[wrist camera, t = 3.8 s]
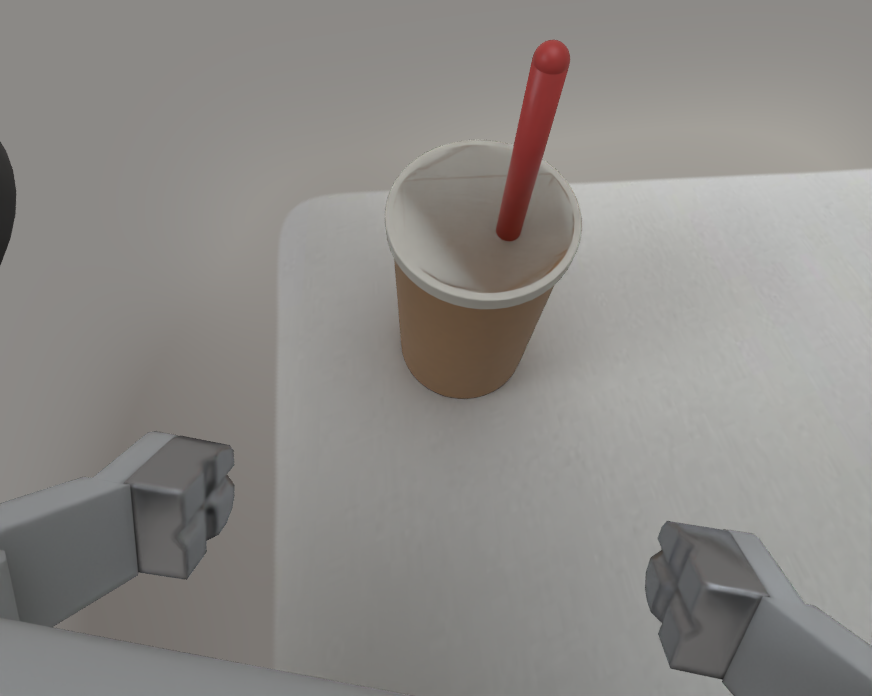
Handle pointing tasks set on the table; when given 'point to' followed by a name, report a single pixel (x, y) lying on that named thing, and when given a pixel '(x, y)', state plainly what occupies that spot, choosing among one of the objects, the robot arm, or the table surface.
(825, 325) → the table surface
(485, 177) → the paper cup
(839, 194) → the table surface
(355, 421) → the table surface
